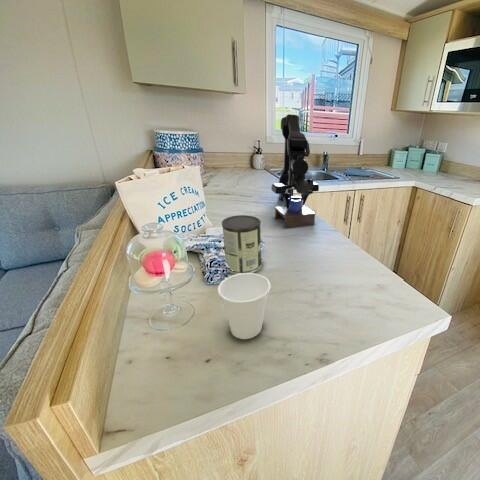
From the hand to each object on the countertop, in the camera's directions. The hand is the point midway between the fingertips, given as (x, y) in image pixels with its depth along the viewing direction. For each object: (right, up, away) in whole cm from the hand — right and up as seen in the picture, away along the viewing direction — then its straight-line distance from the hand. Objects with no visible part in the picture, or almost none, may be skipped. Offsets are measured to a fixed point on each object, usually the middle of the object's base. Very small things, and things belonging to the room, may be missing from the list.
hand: (294, 207), depth 114 cm
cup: (-5, -33, -57) cm, 66 cm away
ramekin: (0, -1, 0) cm, 1 cm away
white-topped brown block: (0, -5, +2) cm, 6 cm away
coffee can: (-12, -21, -34) cm, 41 cm away
